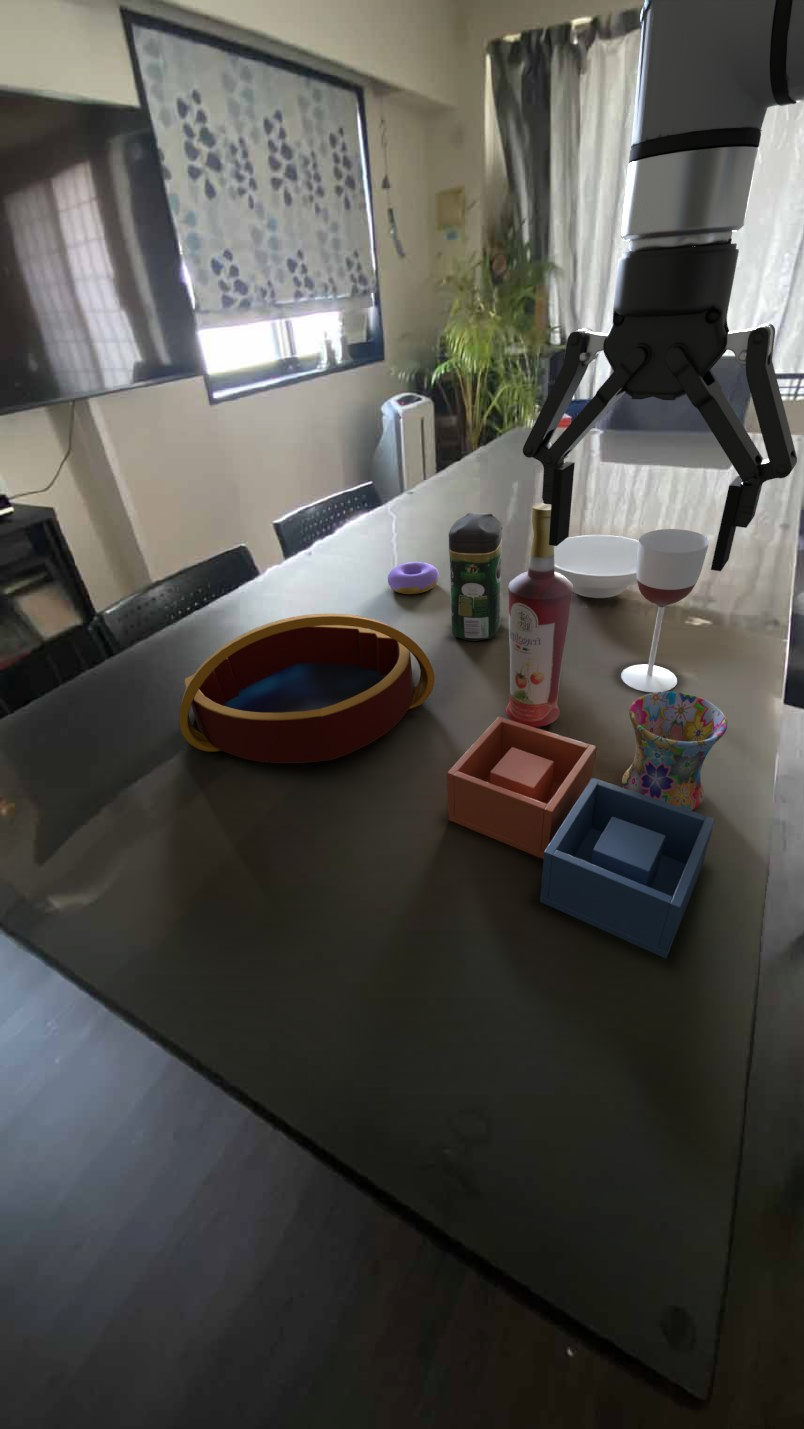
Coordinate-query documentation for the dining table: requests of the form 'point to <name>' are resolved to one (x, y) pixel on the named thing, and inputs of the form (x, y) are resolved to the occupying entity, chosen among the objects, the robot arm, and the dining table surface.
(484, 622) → the coffee jar
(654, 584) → the wineglass
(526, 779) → the terracotta block
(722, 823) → the dining table surface
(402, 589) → the donut
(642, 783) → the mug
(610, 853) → the slate block
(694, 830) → the slate bin
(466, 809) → the terracotta bin
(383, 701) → the decorative basket
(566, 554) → the bowl
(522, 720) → the liquor
